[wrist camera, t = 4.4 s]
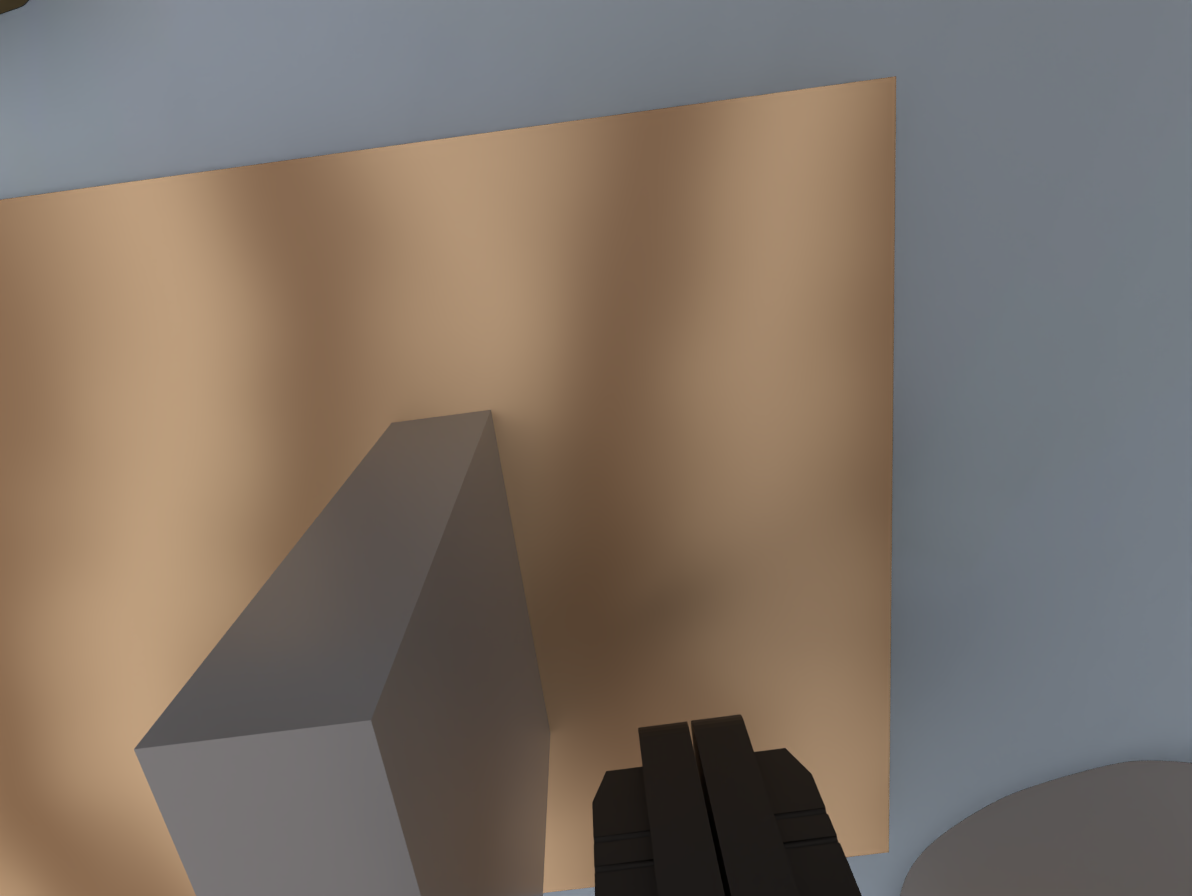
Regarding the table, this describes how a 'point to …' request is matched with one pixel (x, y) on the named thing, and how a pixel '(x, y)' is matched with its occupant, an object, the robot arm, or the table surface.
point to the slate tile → (372, 697)
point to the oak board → (454, 386)
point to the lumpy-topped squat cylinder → (1071, 839)
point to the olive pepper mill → (10, 5)
